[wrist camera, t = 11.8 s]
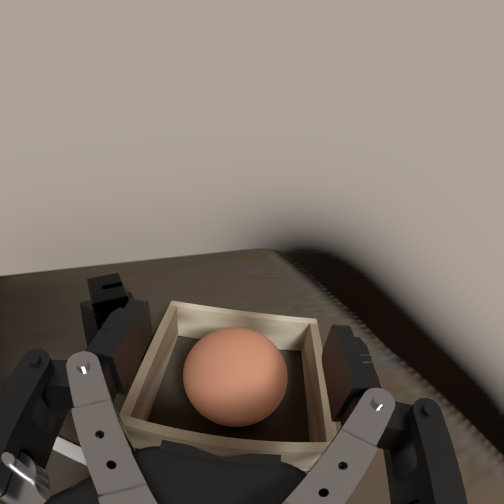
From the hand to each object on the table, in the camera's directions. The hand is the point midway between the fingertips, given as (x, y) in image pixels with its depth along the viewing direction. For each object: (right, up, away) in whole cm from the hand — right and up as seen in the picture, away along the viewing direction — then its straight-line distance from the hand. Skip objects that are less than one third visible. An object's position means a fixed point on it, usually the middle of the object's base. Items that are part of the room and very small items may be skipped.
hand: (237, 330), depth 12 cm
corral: (-1, -6, +5) cm, 8 cm away
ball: (0, -4, +3) cm, 5 cm away
